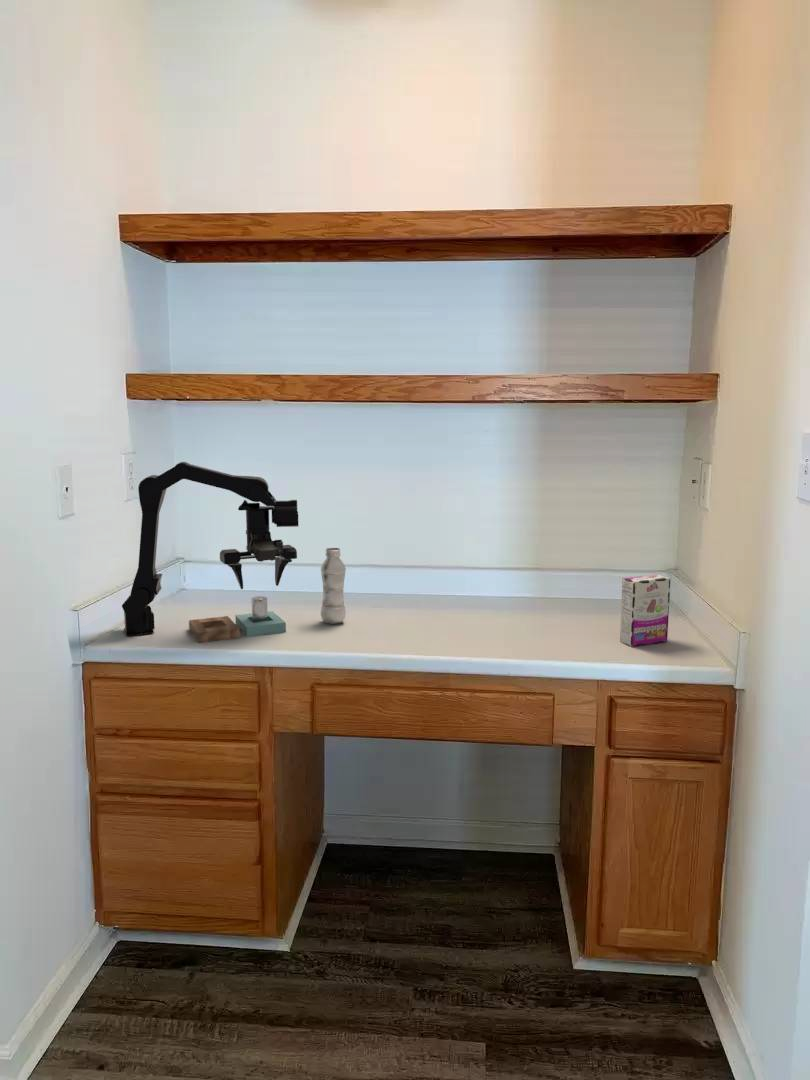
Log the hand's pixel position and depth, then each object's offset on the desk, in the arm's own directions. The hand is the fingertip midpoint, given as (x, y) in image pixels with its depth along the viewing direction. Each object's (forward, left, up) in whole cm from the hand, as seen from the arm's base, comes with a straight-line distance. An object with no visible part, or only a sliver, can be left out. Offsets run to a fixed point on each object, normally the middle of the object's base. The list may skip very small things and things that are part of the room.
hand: (259, 587), depth 202 cm
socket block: (-12, 0, -11) cm, 16 cm away
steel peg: (0, 0, -11) cm, 11 cm away
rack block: (0, 0, -11) cm, 11 cm away
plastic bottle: (+19, -3, -11) cm, 22 cm away
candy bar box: (+83, -50, -11) cm, 97 cm away
